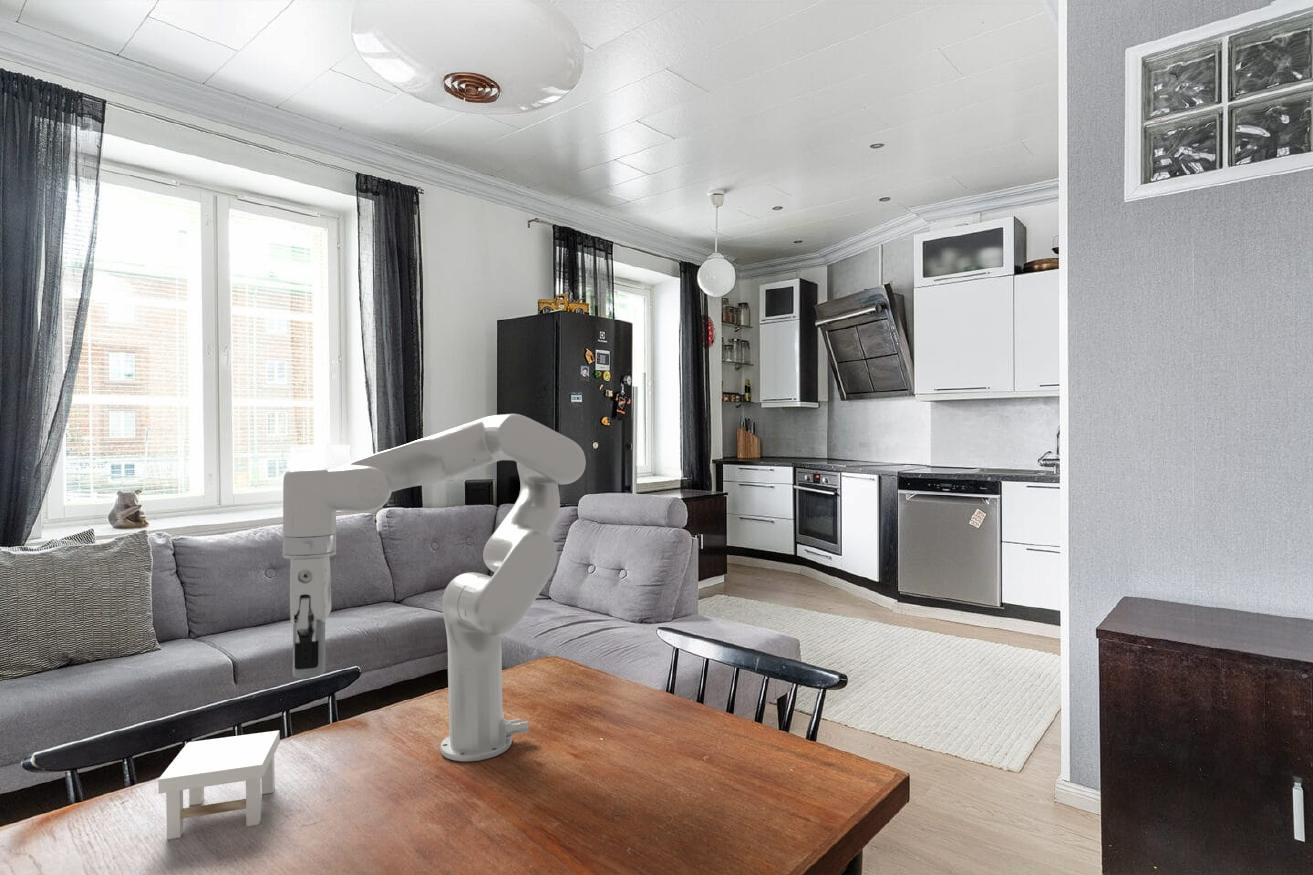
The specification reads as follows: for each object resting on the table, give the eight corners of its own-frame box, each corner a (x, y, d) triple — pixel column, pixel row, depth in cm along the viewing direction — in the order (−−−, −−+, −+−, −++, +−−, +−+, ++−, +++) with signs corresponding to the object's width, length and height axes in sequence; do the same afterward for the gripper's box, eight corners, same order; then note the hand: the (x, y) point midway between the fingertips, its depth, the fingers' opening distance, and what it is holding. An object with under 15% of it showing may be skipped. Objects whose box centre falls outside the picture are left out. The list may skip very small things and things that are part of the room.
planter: (312, 679, 108) (312, 611, 108) (286, 677, 109) (286, 610, 109) (331, 670, 112) (331, 605, 113) (305, 668, 113) (306, 604, 113)
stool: (280, 785, 116) (279, 730, 116) (263, 825, 104) (262, 764, 104) (188, 799, 112) (187, 742, 112) (159, 843, 100) (158, 779, 100)
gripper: (330, 552, 104) (329, 676, 104) (340, 538, 120) (340, 646, 120) (272, 555, 102) (272, 682, 101) (291, 540, 118) (291, 650, 117)
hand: (309, 661), depth 111 cm, fingers closed on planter, 4 cm apart
